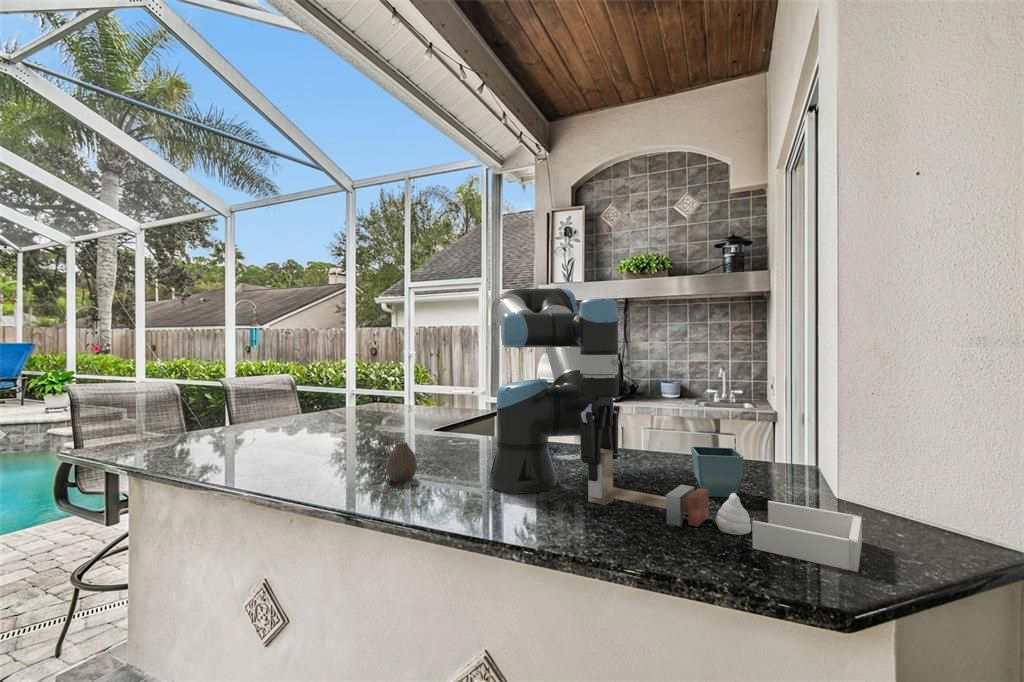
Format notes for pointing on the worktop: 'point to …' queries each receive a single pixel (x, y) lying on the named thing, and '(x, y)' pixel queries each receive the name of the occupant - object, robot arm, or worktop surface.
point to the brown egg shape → (401, 463)
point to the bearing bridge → (677, 504)
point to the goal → (810, 535)
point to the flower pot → (717, 469)
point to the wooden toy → (693, 506)
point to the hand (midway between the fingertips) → (600, 493)
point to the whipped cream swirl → (733, 517)
